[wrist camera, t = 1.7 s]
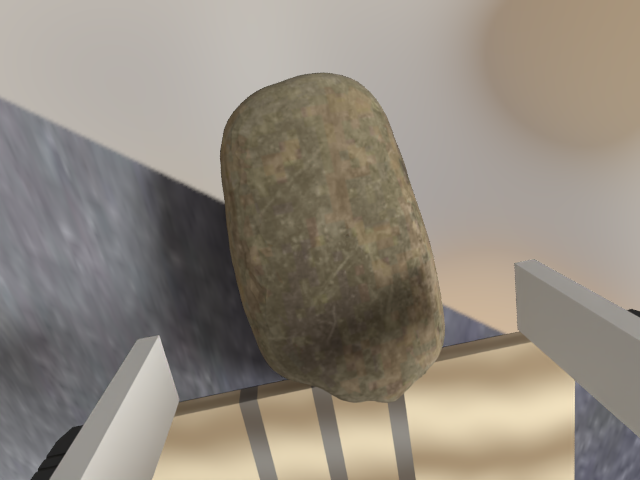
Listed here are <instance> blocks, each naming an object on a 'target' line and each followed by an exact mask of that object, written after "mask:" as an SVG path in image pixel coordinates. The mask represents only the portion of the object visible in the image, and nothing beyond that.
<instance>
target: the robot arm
mask: <svg viewBox="0 0 640 480" xmlns="http://www.w3.org/2000/svg"><path fill="white" fill-rule="evenodd" d="M514 266H515V285H516V305H517V324H518V325H517V326H518V330H519V331H520V332H521V333H522V334H523V335H524V336H526V337H527V338H528V339H529V340H530V341H531V342H532V343H533V344H535V345H536V346H537V347H538V348H539V349H540V350H541V351H542V352H544V353H545V354H546V355H547V356H548V357H549V358H550V359H552V360H553V361H554V362H555V363H556V364H557V365H558V366H559V367H561V368H562V369H563V370H564V371H565V372H566V373H567V374H568V375H570V376H571V377H572V378H573V379H574V380H575V381H576V382H577V383H579V384H580V385H581V386H582V387H583V388H584V389H585V390H587V391H588V392H589V393H590V394H591V395H592V396H593V397H594V398H596V399H597V400H598V401H599V402H600V403H601V404H602V405H603V406H605V407H606V408H607V409H608V410H609V411H610V412H611V413H612V414H614V415H615V416H616V417H617V418H618V419H619V420H620V421H622V422H623V423H624V424H625V425H626V426H627V427H628V428H629V429H631V430H632V431H633V432H634V433H635V434H636V435H637V436H638V437H640V311H637V310H633V309H630V310H625V309H623V308H622V307H619V306H618V305H616V304H614V303H612V302H611V301H609V300H607V299H605V298H603V297H602V296H600V295H598V294H596V293H594V292H593V291H591V290H589V289H587V288H585V287H584V286H582V285H580V284H578V283H576V282H575V281H573V280H571V279H569V278H567V277H565V276H563V275H562V274H560V273H558V272H557V271H554V270H553V269H551V268H549V267H548V266H546V265H544V264H542V263H540V262H539V261H537V260H535V259H533V260H528V261H523V262H518V263H514ZM178 403H179V397H178V394H177V390H176V387H175V384H174V381H173V378H172V375H171V371H170V368H169V365H168V362H167V359H166V356H165V352H164V349H163V346H162V343H161V340H160V337H159V335H157V336H152V337H147V338H142V339H138V340H137V341H136V343H135V344H134V346H133V347H132V349H131V351H130V352H129V354H128V355H127V357H126V359H125V360H124V362H123V363H122V365H121V367H120V368H119V370H118V371H117V373H116V374H115V376H114V378H113V379H112V381H111V382H110V384H109V386H108V387H107V389H106V390H105V392H104V394H103V395H102V397H101V398H100V400H99V402H98V403H97V405H96V406H95V408H94V409H93V411H92V413H91V414H90V416H89V417H88V419H87V421H86V422H85V424H84V425H82V426H77V427H72V428H71V429H70V430H69V431H68V432H67V433H66V434H65V435H64V436H62V437H61V438H60V439H59V440H58V441H57V442H56V443H55V445H54V446H53V448H52V449H51V451H50V452H49V454H48V455H47V457H46V460H44V461H43V462H42V464H41V465H40V467H39V468H38V472H36V473H35V474H34V476H33V477H32V479H31V480H152V478H153V476H154V473H155V470H156V467H157V464H158V461H159V458H160V455H161V452H162V450H163V447H164V444H165V441H166V438H167V435H168V432H169V429H170V426H171V424H172V421H173V418H174V415H175V412H176V409H177V406H178Z"/></svg>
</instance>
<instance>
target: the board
mask: <svg viewBox="0 0 640 480" xmlns="http://www.w3.org/2000/svg"><path fill="white" fill-rule="evenodd" d="M574 429H575V380H574V379H573V378H572V377H571V376H570V375H568V374H567V373H566V372H565V371H564V370H563V369H562V368H561V367H559V366H558V365H557V364H556V363H555V362H554V361H553V360H552V359H550V358H549V357H548V356H547V355H546V354H545V353H544V352H542V351H541V350H540V349H539V348H538V347H537V346H536V345H535V344H533V343H532V342H531V341H530V340H529V339H528V338H527V337H526V336H524V335H523V334H522V333H521V332H515V333H510V334H505V335H501V336H496V337H491V338H486V339H481V340H477V341H472V342H467V343H462V344H457V345H453V346H448V347H443V348H442V349H441V351H440V354H439V356H438V358H437V359H436V361H435V362H434V364H433V365H432V366H431V367H430V368H429V369H428V370H427V371H426V374H424V375H422V377H421V378H419V379H418V380H417V381H416V382H414V383H413V385H412V386H411V387H410V388H409V389H408V390H407V391H406V392H405V393H404V394H403V395H401V396H400V397H399V398H398V399H397V400H396V401H394V402H390V403H382V402H376V401H365V402H359V403H352V402H347V401H343V400H340V399H338V398H337V397H335V396H333V395H331V394H330V393H328V392H326V391H324V390H322V389H320V388H318V387H315V386H311V385H307V384H303V383H299V382H296V381H293V380H290V379H289V380H284V381H280V382H275V383H270V384H265V385H260V386H256V387H251V388H246V389H241V390H236V391H232V392H227V393H222V394H217V395H212V396H208V397H203V398H198V399H193V400H188V401H183V402H179V403H178V406H177V409H176V412H175V415H174V418H173V421H172V424H171V426H170V429H169V432H168V435H167V438H166V441H165V444H164V447H163V450H162V452H161V455H160V458H159V461H158V464H157V467H156V470H155V473H154V476H153V478H152V480H574Z"/></svg>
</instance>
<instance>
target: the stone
mask: <svg viewBox="0 0 640 480" xmlns="http://www.w3.org/2000/svg"><path fill="white" fill-rule="evenodd" d="M220 162H221V178H222V186H223V192H224V200H225V211H226V224H227V230H228V237H229V247H230V252H231V258H232V264H233V267H234V270H235V275H236V281H237V285H238V288H239V292H240V296H241V301H242V304H243V307H244V311H245V313H246V316H247V318H248V321H249V323H250V326H251V329H252V331H253V334H254V336H255V339H256V341H257V344H258V347H259V349H260V351H261V353H262V355H263V357H264V359H265V360H266V362H267V363H268V365H269V366H270V367H271V368H272V369H273V370H274V371H275V372H277V373H278V374H279V375H281V376H283V377H285V378H286V379H290V380H293V381H296V382H299V383H303V384H307V385H311V386H315V387H318V388H320V389H322V390H324V391H326V392H328V393H330V394H331V395H333V396H335V397H337V398H338V399H340V400H343V401H347V402H352V403H359V402H365V401H376V402H382V403H390V402H394V401H396V400H397V399H398V398H399V397H400V396H401V395H403V394H404V393H405V392H406V391H407V390H408V389H409V388H410V387H411V386H412V385H413V383H414V382H416V381H417V380H418V379H419V378H421V377H422V375H424V374H426V371H427V370H428V369H429V368H430V367H431V366H432V365H433V364H434V362H435V361H436V359H437V358H438V356H439V354H440V351H441V349H442V346H443V342H444V336H445V324H444V314H443V306H442V301H441V293H440V288H439V283H438V277H437V272H436V268H435V263H434V258H433V253H432V250H431V245H430V241H429V238H428V235H427V232H426V229H425V225H424V222H423V219H422V216H421V213H420V210H419V208H418V204H417V202H416V199H415V196H414V193H413V190H412V187H411V184H410V181H409V178H408V174H407V170H406V167H405V164H404V161H403V158H402V155H401V153H400V150H399V148H398V145H397V143H396V140H395V138H394V135H393V132H392V129H391V126H390V124H389V121H388V119H387V116H386V114H385V113H384V111H383V109H382V107H381V106H380V104H379V103H378V101H377V100H376V99H375V97H374V96H373V95H372V94H371V93H370V92H369V91H368V90H367V89H366V88H365V87H364V86H362V85H361V84H360V83H359V82H357V81H355V80H353V79H351V78H348V77H346V76H343V75H337V74H332V73H312V74H305V75H300V76H296V77H293V78H290V79H287V80H285V81H282V82H279V83H276V84H273V85H270V86H267V87H264V88H262V89H260V90H258V91H256V92H255V93H253V94H252V95H250V96H249V97H248V98H247V99H245V100H244V101H243V102H242V103H241V104H240V106H238V108H237V109H236V110H235V111H234V112H233V114H232V115H231V116H230V118H229V119H228V121H227V124H226V126H225V129H224V133H223V138H222V144H221V150H220Z"/></svg>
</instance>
